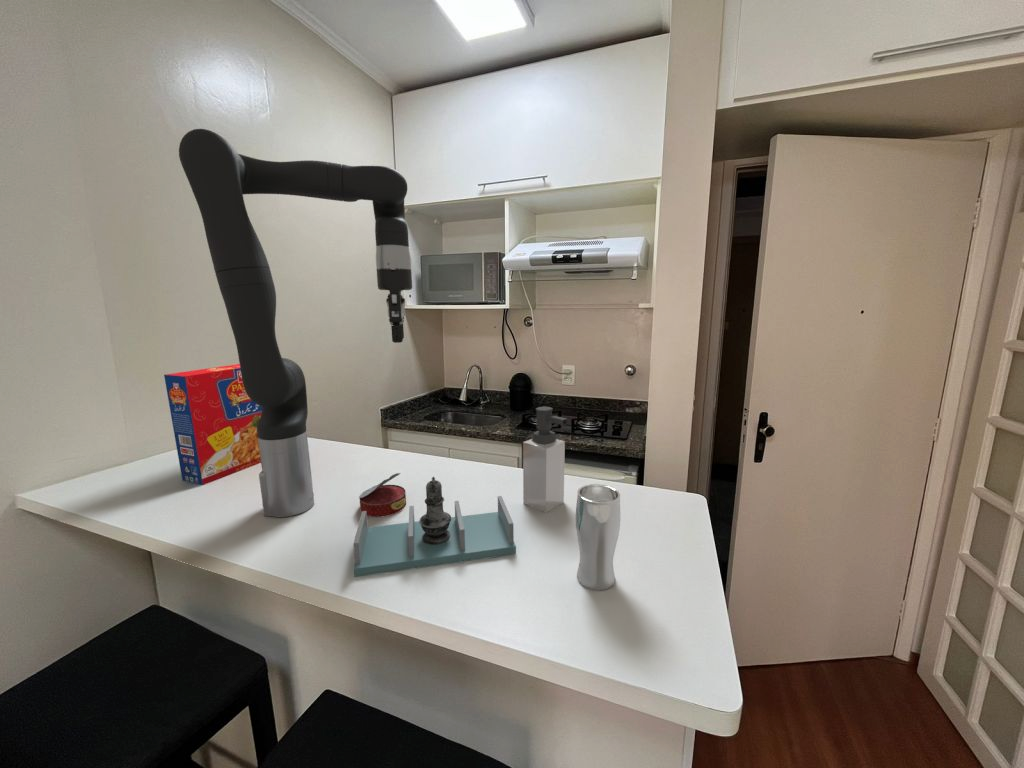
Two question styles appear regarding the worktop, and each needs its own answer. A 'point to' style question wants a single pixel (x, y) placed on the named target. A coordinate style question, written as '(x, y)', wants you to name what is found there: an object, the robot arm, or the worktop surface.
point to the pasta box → (213, 423)
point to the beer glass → (597, 534)
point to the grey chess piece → (435, 516)
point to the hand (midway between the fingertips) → (398, 340)
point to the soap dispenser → (544, 464)
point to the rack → (408, 551)
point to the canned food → (383, 499)
